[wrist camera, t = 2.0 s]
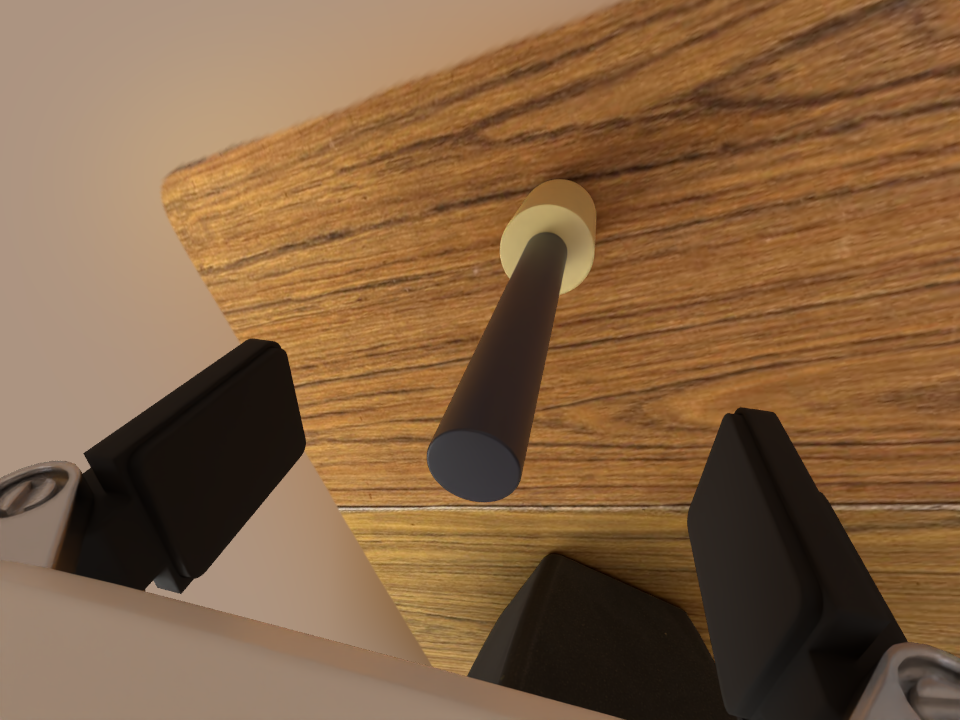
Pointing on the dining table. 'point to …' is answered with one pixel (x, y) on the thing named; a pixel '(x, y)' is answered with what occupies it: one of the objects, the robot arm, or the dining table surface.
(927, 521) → the dining table surface
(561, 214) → the bottle brush
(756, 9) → the dining table surface
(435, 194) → the dining table surface
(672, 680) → the flower pot
